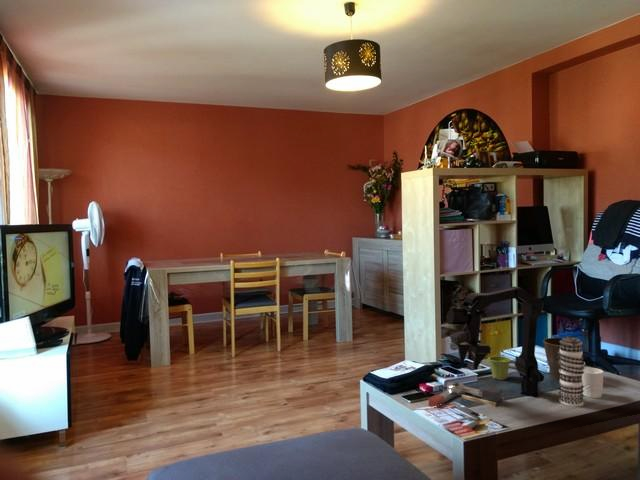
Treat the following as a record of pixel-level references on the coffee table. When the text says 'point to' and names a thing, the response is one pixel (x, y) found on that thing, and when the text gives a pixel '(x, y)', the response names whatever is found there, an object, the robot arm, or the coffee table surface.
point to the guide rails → (479, 399)
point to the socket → (492, 394)
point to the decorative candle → (571, 372)
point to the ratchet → (452, 393)
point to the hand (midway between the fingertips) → (468, 365)
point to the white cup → (592, 382)
